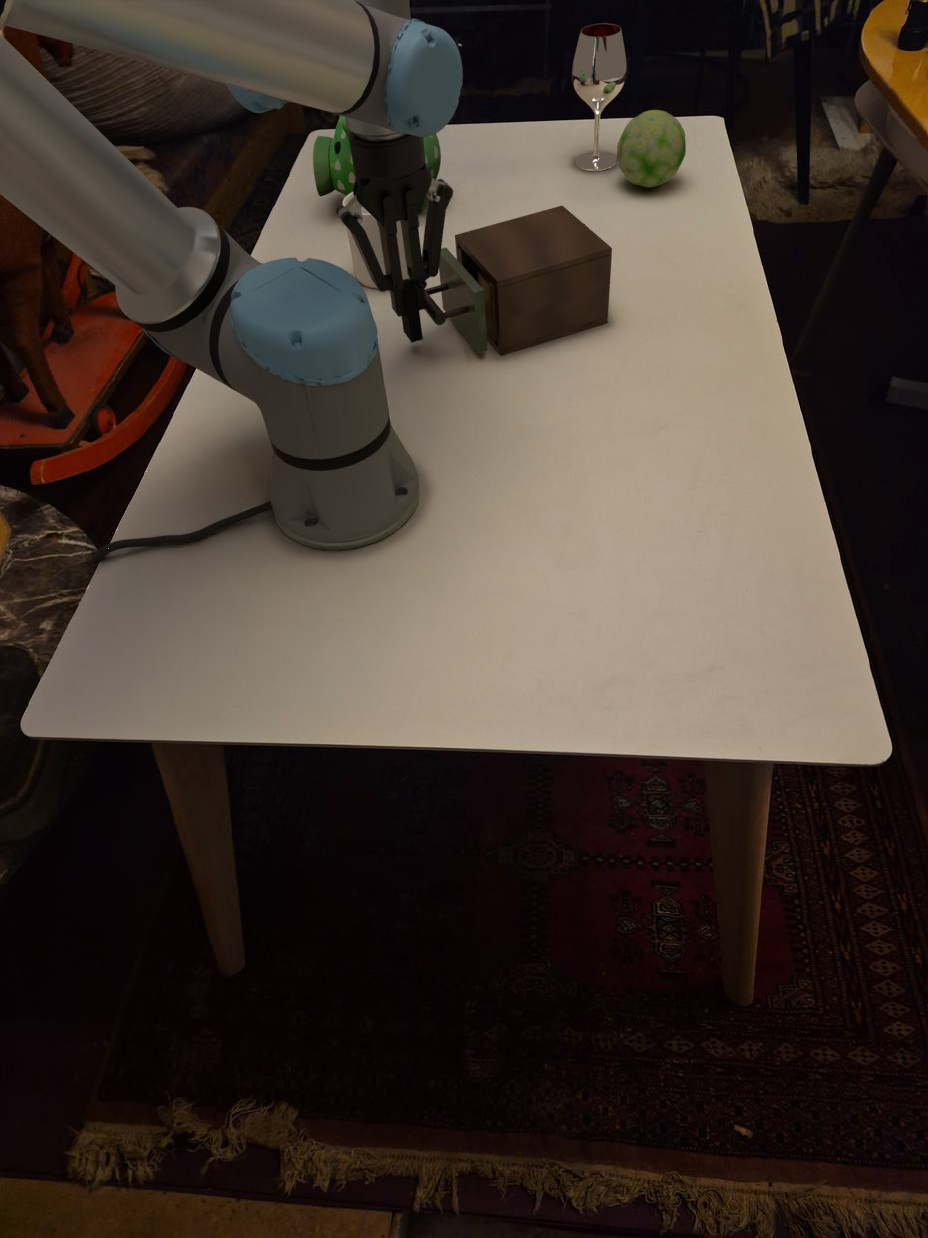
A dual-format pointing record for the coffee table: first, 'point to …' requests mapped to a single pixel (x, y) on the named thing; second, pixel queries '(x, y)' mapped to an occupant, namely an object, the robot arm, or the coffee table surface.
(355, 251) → the cup
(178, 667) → the coffee table surface
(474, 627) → the coffee table surface
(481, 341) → the drawer
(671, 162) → the decorative ball
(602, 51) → the wineglass
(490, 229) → the cabinet
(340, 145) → the piggy bank
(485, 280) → the block
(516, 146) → the coffee table surface
